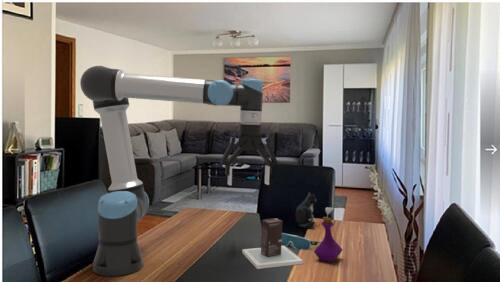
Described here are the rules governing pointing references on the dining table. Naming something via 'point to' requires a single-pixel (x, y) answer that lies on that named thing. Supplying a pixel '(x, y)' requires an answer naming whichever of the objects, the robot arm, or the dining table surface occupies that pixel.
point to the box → (271, 237)
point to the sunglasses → (297, 241)
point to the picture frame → (271, 258)
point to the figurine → (306, 212)
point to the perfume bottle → (328, 242)
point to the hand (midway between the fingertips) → (248, 184)
